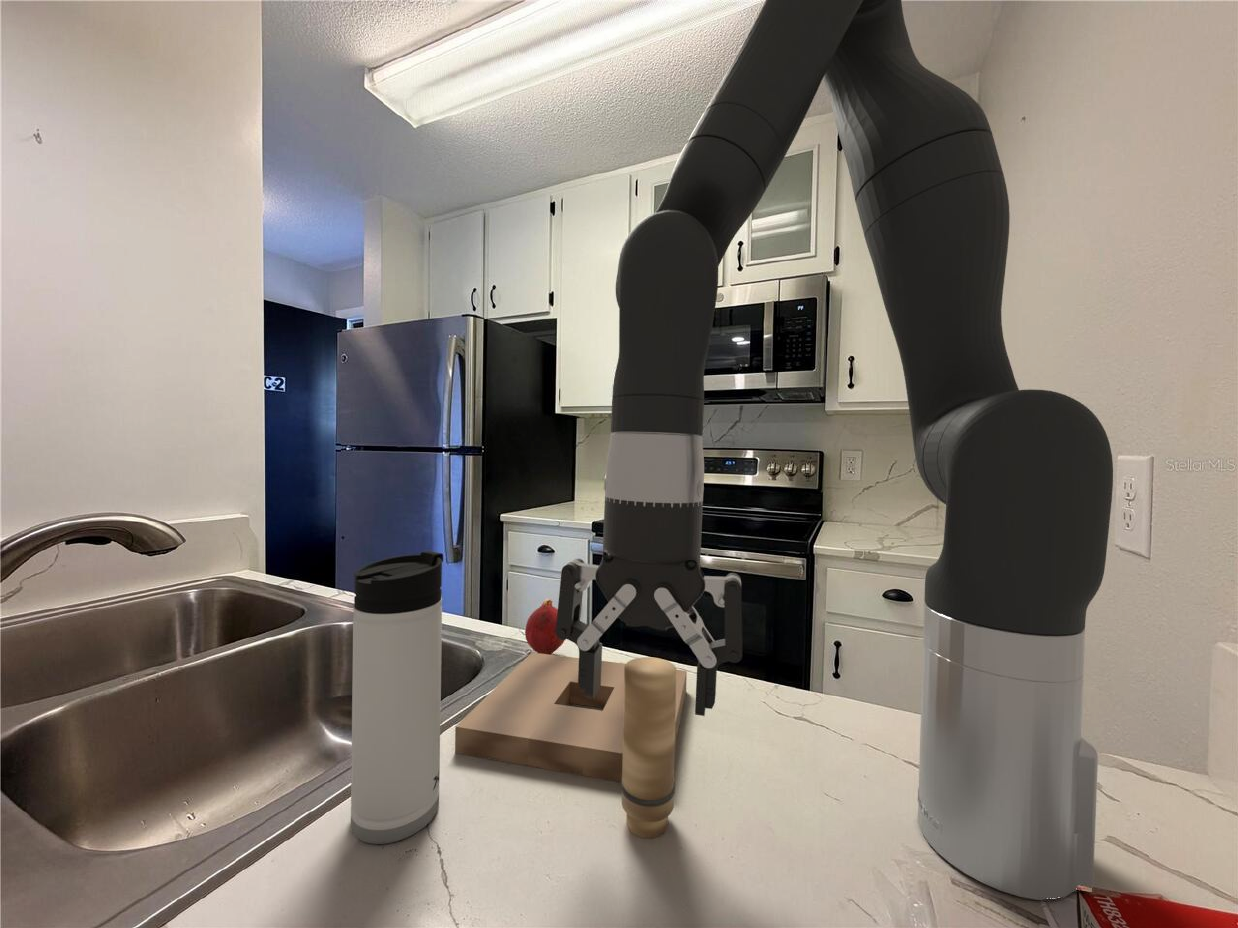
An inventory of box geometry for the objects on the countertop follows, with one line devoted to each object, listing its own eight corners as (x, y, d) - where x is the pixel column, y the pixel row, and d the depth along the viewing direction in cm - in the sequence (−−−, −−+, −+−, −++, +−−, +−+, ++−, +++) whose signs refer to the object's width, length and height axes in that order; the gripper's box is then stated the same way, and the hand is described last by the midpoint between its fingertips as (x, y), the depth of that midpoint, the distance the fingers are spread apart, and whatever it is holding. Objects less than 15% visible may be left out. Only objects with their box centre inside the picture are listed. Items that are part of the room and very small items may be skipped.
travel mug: (459, 804, 39) (463, 556, 39) (381, 860, 34) (385, 572, 33) (411, 775, 43) (414, 547, 42) (333, 822, 37) (336, 559, 37)
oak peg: (676, 807, 39) (680, 660, 39) (670, 848, 35) (674, 683, 35) (626, 798, 40) (629, 654, 40) (614, 836, 36) (617, 676, 36)
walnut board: (686, 691, 59) (686, 670, 59) (666, 789, 42) (667, 760, 41) (531, 671, 64) (531, 652, 64) (455, 752, 46) (455, 726, 46)
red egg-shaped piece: (558, 667, 65) (559, 607, 65) (518, 662, 66) (519, 604, 66) (571, 650, 71) (572, 595, 71) (534, 646, 72) (535, 592, 72)
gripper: (748, 495, 40) (739, 693, 40) (580, 485, 43) (573, 668, 43) (750, 504, 32) (739, 745, 33) (548, 491, 36) (540, 711, 36)
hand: (644, 701), depth 38 cm, fingers open, 8 cm apart
